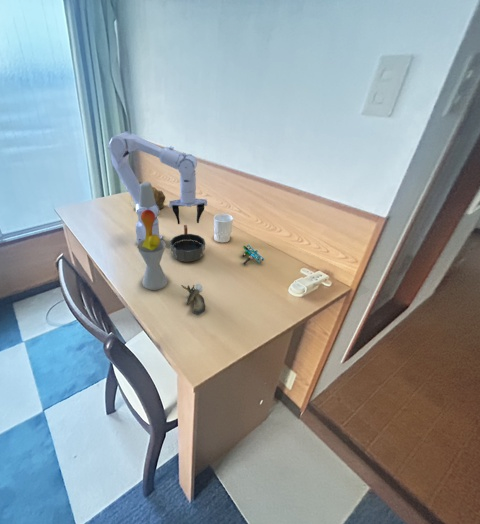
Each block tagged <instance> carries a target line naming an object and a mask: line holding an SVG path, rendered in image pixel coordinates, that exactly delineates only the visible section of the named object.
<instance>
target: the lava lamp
mask: <svg viewBox="0 0 480 524" xmlns="http://www.w3.org/2000/svg"><path fill="white" fill-rule="evenodd" d="M152 187H153V186H152V183H151V182H149V181H143V182H141V184H140V198H139V206H141V207H146V208H147V207H152V206H155V205H156V202H155V198H154V194H153V190H152ZM141 220H142V222H143V224H144V226H145V229H146V238H145V240H143V241H141V242H139V243H138V244H136V245H137V246H136V248H137V250H138V252H139V253H140V255H141V258H142V260H143V261H144V263H145V264H146V266H145V270H144V275H143V279H142V286H143V287H144V288H145V289H146V290H150V291H151V290H152V291H155V290H157V291H158V290H160V289H163V288H165V287H166V286H167V284H168V279H167V277H166V274H165V273H164V270H163V269H162V266H161V261H162V258H163V254H164V252H165V250H166V249H165V248H166V242H165V241H164V240H162V239H159V237H158V236H157V235H153V234H152V227H153V223H154V220H155V214H154V213H153V212H152V211H151V210H145V211H143V212H142V214H141Z"/></svg>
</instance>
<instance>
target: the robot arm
mask: <svg viewBox="0 0 480 524" xmlns="http://www.w3.org/2000/svg"><path fill="white" fill-rule="evenodd" d="M107 149H108V150H109V152H110V161H111V165H112V167H113V168H114V170H115V172H116V173H117V175H118V177H119V179H120V181H122V183H123V185H124V187H125V189H126V190H127V192H128V194H129V193H130V194H129V196H130V195H131V197H132V199H133V200H134V202H135V204H136V209H135V212H136V214H137V219H138V221H136V224H135V234H136V235H135V236H136V245H138V243H139V242H141V241H143V240H145V238H146V229H145V226H144V224H143V222H142V220H141V214H142V212H143V211H145V210H151V211H152V212H153V213H154V214H155V220H154V223H153V227H152V234H153V235H157V236H158V237H159V239H161V240H162V239H163V236H162V235H160V225H159V218H158V216H159V214H160V209H159V208H158V206H157V205H155V206H152V207H147V208H146V207H141V206H139V198H140V183H139V182H138V181H139V180H138V178H137V176H136V174H135V172H134V171H133V169H132V168H131V165H130V164H129V162H128V160H129V156H130V154H131V152H134V151H139V152H143V153H146V154H148V155H151V156H154V157H155V158H158V159H159V161H160V163H161V164H163V165H166V166H168V167H170V168H173V169H175V170H177V171H178V172H179V173H180V175H179V176H180V178H179V183H180V185H179V187H180V191H179V192H180V193H179V194H180V198H179V199H176V200H169V201H168V205H169V206H168V207H169V209H170V208H171V209H172V212H173V213H174V216H175V219H176V221H177V225H180V224H181V222H180V207H189V208H190V207H193V206H196V223H197V224H200V220H201V216H202V214H203V212H204V211H205V207H206V206H208V199H207V198H196V196H197V195H196V194H197V193H196V191H197V189H196V187H197V186H196V184H197V178H196V174H197V173H196V168H197V166H198V160H197V158H196V157H195V156H194V155H192V154H191V153H189V154H186V153H185V152H180V151H178V150H175V149H174V147H173V146H172V145H171V146H165V147H163V148H162V147H160V146H159V145H157V144H154V143H152V142H150V141H148V140H147V139H145V138H142V137H141V136H139V135H137V134H136V133H131V131H126V130H125V131H122V132H121V133H119V134H117V135H113V136H112V137H111V138H110V140H109V142H108V146H107Z"/></svg>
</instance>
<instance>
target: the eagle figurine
mask: <svg viewBox="0 0 480 524" xmlns="http://www.w3.org/2000/svg"><path fill="white" fill-rule="evenodd" d="M181 288H183V289H184V290H186V291H187V292H188V293H189V294H188V297H187V301H186V306H188V305H189V304H191V303H192V301H193V308H192V313H193V314H194V315H198V316H199V315H201V314H202V313H203V312H204V311H205V310H206V303H205V299H204V297H203V295H201V294H200V293H202V292H203V285H202V284H201V283H196V285H195V284H193V285H192V287H190V285H187V286H184V285H183V284H181Z"/></svg>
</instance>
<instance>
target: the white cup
mask: <svg viewBox="0 0 480 524" xmlns="http://www.w3.org/2000/svg"><path fill="white" fill-rule="evenodd" d="M233 221H234V216H232V215H231V214H228V213H217V214H215V215H214V216H213V239H214V242H217V243H227V242H229V241H230V239H231V233H232V229H233V223H234V222H233Z"/></svg>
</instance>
